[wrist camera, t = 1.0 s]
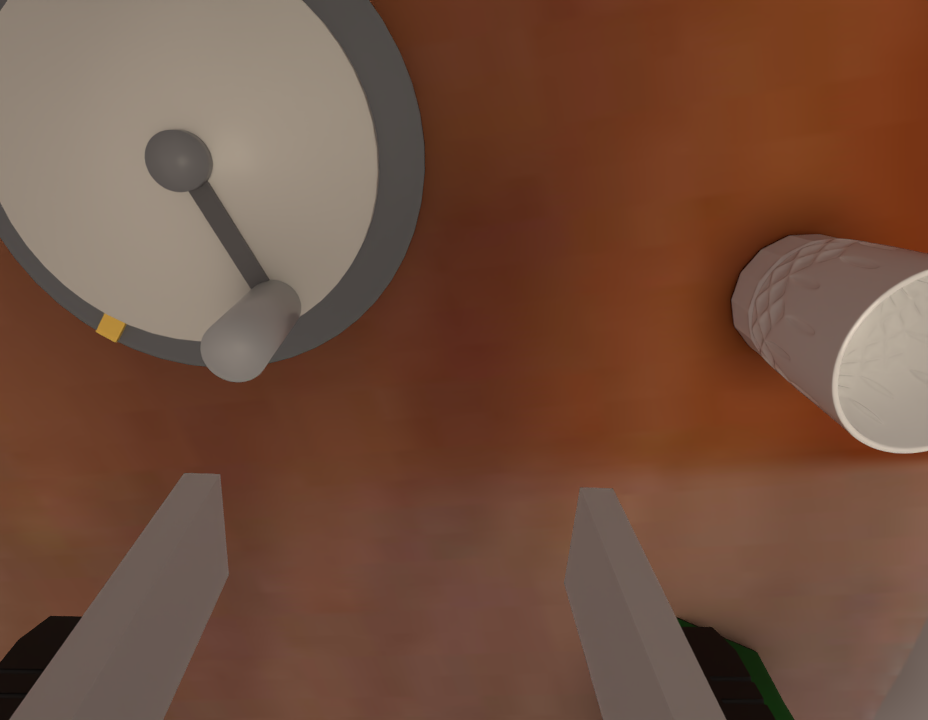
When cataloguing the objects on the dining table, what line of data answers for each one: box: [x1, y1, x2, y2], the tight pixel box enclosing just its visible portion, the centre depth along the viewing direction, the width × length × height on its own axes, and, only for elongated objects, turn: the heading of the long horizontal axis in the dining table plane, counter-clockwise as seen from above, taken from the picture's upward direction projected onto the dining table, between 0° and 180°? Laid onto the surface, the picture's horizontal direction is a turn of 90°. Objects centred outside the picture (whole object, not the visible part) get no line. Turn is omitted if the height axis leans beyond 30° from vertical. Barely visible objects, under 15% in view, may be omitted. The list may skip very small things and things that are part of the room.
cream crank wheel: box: [0, 0, 380, 382], centre depth 23 cm, size 16×16×8 cm
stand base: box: [0, 0, 425, 367], centre depth 27 cm, size 20×20×2 cm
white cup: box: [731, 234, 928, 453], centre depth 28 cm, size 8×8×10 cm
